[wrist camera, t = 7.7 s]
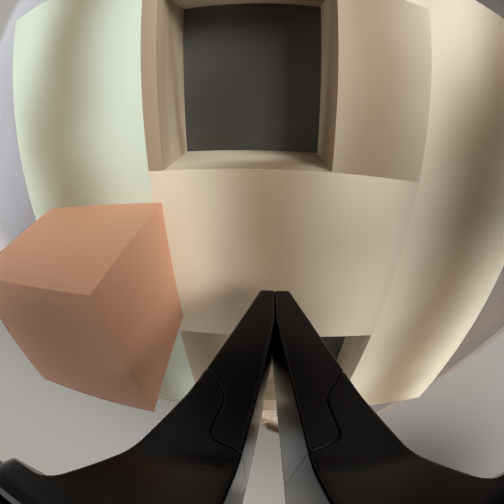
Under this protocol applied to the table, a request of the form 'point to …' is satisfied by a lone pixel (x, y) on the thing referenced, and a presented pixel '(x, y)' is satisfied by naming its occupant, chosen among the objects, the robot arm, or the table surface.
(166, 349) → the block
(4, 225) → the table surface
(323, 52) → the cream flat piece
